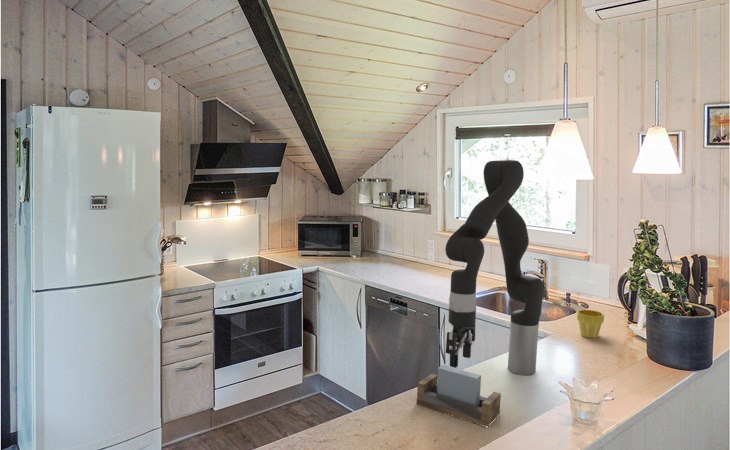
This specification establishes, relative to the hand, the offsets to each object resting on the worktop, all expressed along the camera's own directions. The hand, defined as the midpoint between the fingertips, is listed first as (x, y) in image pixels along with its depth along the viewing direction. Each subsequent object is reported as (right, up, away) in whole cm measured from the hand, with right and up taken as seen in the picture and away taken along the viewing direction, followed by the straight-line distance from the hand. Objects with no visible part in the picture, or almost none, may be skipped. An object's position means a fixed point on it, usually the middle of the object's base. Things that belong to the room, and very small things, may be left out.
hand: (460, 362), depth 149 cm
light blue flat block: (0, -13, +2) cm, 13 cm away
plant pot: (+67, -7, +69) cm, 96 cm away
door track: (0, -14, +2) cm, 14 cm away
